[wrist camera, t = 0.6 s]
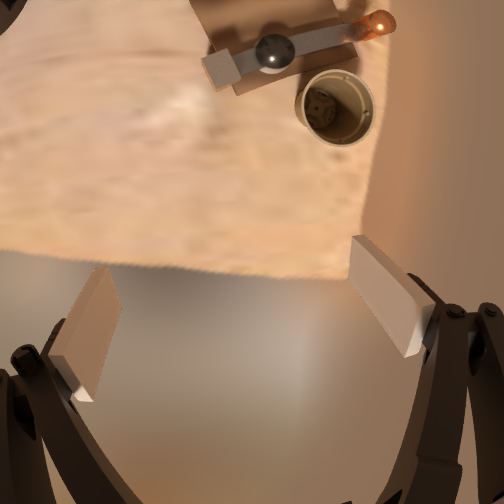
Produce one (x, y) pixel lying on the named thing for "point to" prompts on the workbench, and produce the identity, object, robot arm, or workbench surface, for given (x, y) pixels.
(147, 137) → the workbench surface
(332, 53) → the board
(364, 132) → the flower pot
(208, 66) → the lever
